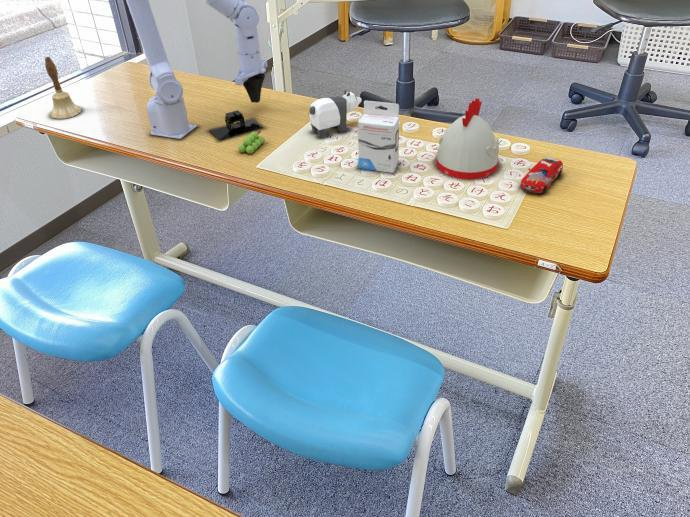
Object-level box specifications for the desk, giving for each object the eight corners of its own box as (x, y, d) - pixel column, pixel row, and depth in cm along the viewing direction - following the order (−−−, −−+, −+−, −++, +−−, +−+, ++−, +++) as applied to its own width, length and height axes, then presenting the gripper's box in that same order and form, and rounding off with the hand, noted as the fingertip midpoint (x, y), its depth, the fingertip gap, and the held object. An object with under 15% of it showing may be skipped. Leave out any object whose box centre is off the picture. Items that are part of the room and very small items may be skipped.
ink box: (357, 169, 136) (356, 108, 127) (363, 159, 139) (362, 99, 130) (393, 173, 133) (394, 112, 124) (399, 163, 137) (400, 103, 128)
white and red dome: (506, 158, 137) (515, 96, 128) (483, 184, 128) (490, 120, 119) (451, 145, 143) (456, 85, 134) (425, 169, 134) (429, 107, 125)
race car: (539, 198, 123) (542, 182, 120) (515, 190, 126) (518, 174, 123) (566, 173, 131) (569, 157, 128) (543, 166, 133) (546, 150, 131)
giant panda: (316, 140, 148) (314, 104, 142) (307, 132, 152) (304, 96, 146) (366, 126, 153) (366, 90, 148) (356, 118, 157) (355, 84, 152)
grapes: (237, 153, 144) (235, 140, 142) (254, 138, 150) (252, 125, 148) (252, 155, 143) (250, 142, 141) (268, 140, 149) (266, 127, 147)
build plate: (219, 141, 150) (216, 124, 147) (208, 131, 155) (205, 114, 152) (263, 128, 155) (261, 111, 152) (251, 118, 160) (249, 102, 157)
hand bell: (87, 110, 169) (69, 54, 159) (63, 121, 163) (43, 64, 154) (69, 105, 172) (50, 50, 163) (44, 115, 167) (23, 59, 157)
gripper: (248, 62, 146) (255, 113, 155) (274, 44, 157) (280, 93, 165) (224, 59, 149) (232, 110, 157) (251, 42, 159) (258, 90, 167)
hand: (255, 101), depth 161 cm, fingers closed
